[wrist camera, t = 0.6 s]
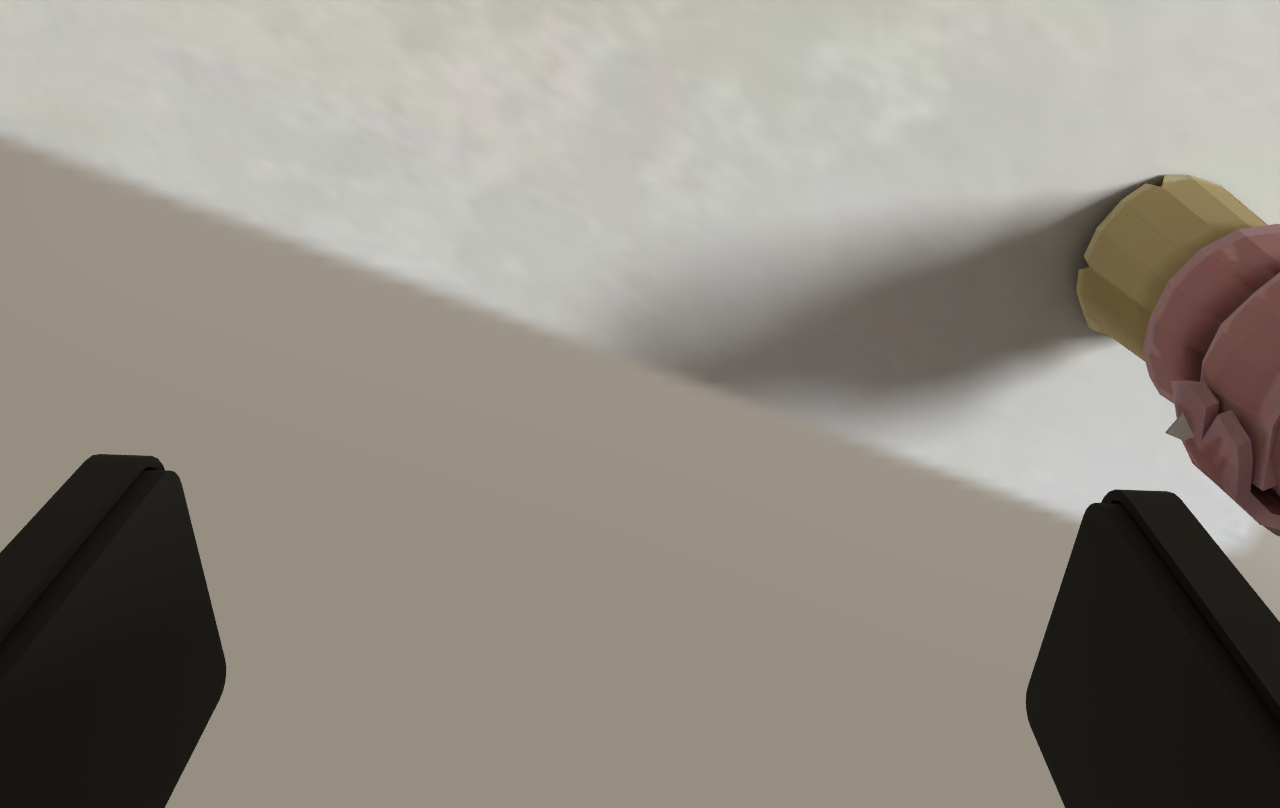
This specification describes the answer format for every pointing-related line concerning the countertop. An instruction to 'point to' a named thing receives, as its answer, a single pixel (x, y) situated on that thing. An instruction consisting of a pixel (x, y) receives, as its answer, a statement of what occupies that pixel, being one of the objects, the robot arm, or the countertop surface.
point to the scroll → (1199, 324)
